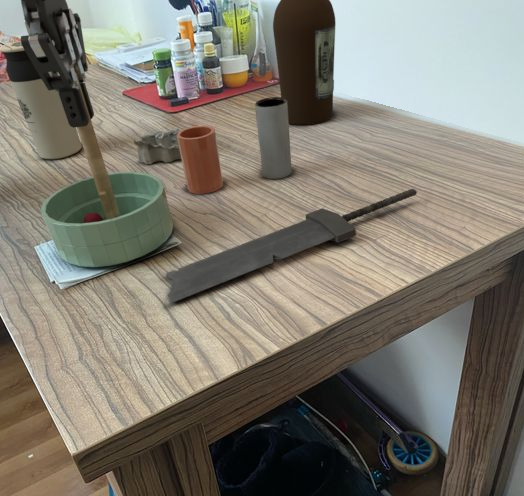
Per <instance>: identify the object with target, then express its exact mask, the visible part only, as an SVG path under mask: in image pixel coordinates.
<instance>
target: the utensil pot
mask: <svg viewBox="0 0 524 496" xmlns="http://www.w3.org/2000/svg"><path fill="white" fill-rule="evenodd" d="M183 129H184V128H183ZM180 130H181V131H180V132H178V133H177V140H178V145H179V149H180V154H181V159H180V160H181V164H182V168H183V173H184V178H185V183H186V188H187V191H188V192H190V193H192V194H194V195H195V194H196V195H204V194H205V195H207V194H211V193H214V192H217V191H218V190H220V189H222V187H224V180H223V179H224V178H223V173H222V167H221V159H220V153H219V147H218V141H217V134H216V129H215V128H214V127H213V126H209V125H198V126H197V125H196V126H190V127H185V129H184V130H182V129H180Z"/></svg>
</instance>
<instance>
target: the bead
mask: <svg viewBox="0 0 524 496" xmlns="http://www.w3.org/2000/svg"><path fill="white" fill-rule="evenodd" d="M100 221H104V220H103V218H102V217H101V216H100V215H99V214H97V213H89V214H87V215H86V216H85V218H84V223H91V222H100Z"/></svg>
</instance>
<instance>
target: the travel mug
mask: <svg viewBox="0 0 524 496" xmlns="http://www.w3.org/2000/svg"><path fill="white" fill-rule="evenodd" d="M0 52H2V54H3V56H4V58H5V60H6V66H5V71H6V75H7V78H8V79H9V82H10V85H11V87H12V89H13V92H14V95H15V98H16V100H17V102H18V105H19V108H20V111H21V112H22V116H23V118H24V121H25V123H26V126H27V129H28V131H29V133H30V136H31V138H32V141H33V143H34V147H35V149H36V152H37V154H38V157H40V158H42V159H45V160H59V159H65V158H67V157H71V156H73V155H75V154H76V153H78V152H79V151H80V150H81V149H82V148H83V145H82V142H81V139H80V136H79V133H78V130H77V127H75V128H74V127H71V126H70V125H69V123H68V120H67V117H66V114H65V111H64V108H63V105H62V102H61V99H60V96H59V92H55V91H54V90H50V91H49V90H48V89H47V87H46V86H45V84H44V82H43V81H42V79H41V77H40V75H39V74H38V72H37V70H36V69H35V67H34V65H33V64H32V62H31V60H30V58H29V57H28V55H27V53H26V52H25V50H24V48H23V46H22V44H21V40H17V41H13V42H9V43H5V44H3V45H1V46H0ZM57 75H58V76H60V75H59V73H58V72H57Z"/></svg>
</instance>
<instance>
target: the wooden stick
mask: <svg viewBox="0 0 524 496" xmlns="http://www.w3.org/2000/svg"><path fill="white" fill-rule="evenodd" d="M75 74H76V77H77V81H78V83H79V80H78V76H77V73H75ZM79 89H80V91H81V94H82V98H83V101H84V104H85V107H86V110H87V114H88V117H89V123H88V125H87V126H83V127H76V130H77V133H78V136H79V139H80V142H81V145H82V148H83V151H84V154H85V158H86V161H87V164H88V166H89V170H90V172H91V175H92V176H93V178H94V181H95V184H96V188H97V191H98V194H99V197H100V200H101V203H102V206H103V209H104V212H105V215H106V218H107V220H109V219H113V218H116V217H119V216H121V215H120V212H119V209H118V206H117V203H116V199H115V196H114V193H113V190H112V186H111V183H110V180H109V177H108V173H109V172H108V171H107V167H106V164H105V161H104V157H103V154H102V151H101V148H100V147H101V146H100V145H99V142H98V138H97V135H96V131H95V129H94V125H93V122H92V119H91V118H90V115H89V112H88V109H87V105H86V102H85V99H84V96H83V92H82V89H81V86H80V83H79Z"/></svg>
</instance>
